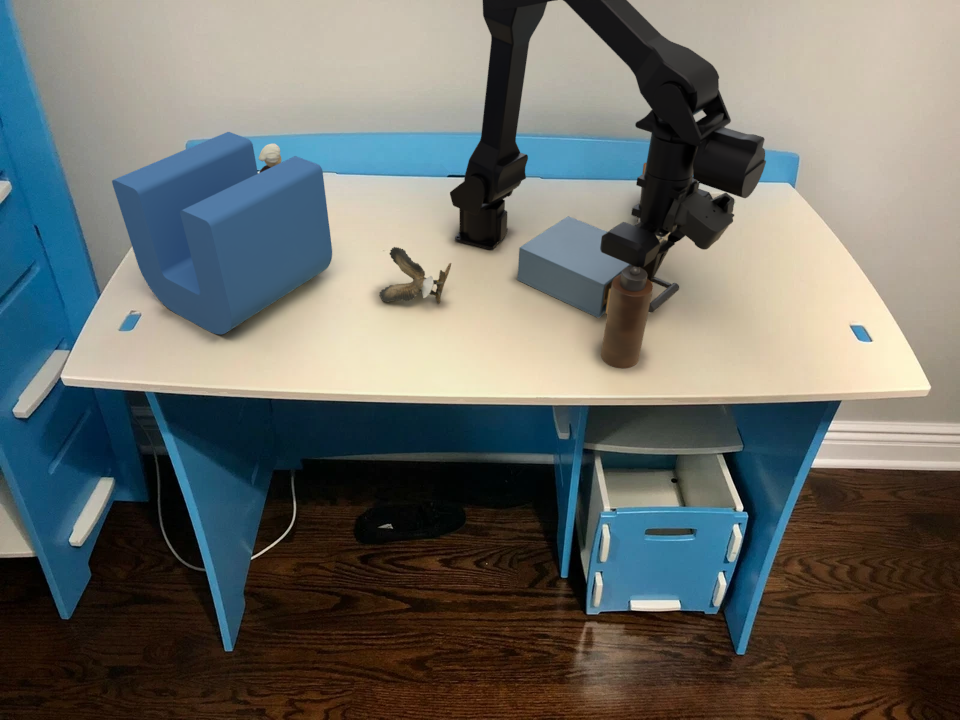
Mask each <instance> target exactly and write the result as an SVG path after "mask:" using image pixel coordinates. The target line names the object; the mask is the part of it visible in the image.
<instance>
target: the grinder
mask: <svg viewBox="0 0 960 720" xmlns="http://www.w3.org/2000/svg"><path fill="white" fill-rule="evenodd" d="M653 291H654V284H653V283H651V281H650V280H649V279H647V272H646V271H645V270H644V269H642V268H639V267H634V266H630V267H626V268H624V269H623V270H622V273H621V275H618V276H616V277H615V278H614V279H613V281H612V287H611V293H610V299H609V306H608V312H607V314H606V320H605V325H604V332H603V337H602V345H601V352H600V357H601V359H602V361H603V362H604V363H605V364H607V365H609V366H611V367H612V368H617V369H629V368H632V367H634V366H636V365H637V364H638V362H639V361H640V354H641V351H642V346H643V340H644V336H645V330H646V326H647V321H648V317H649V316H648V315H649V312H648V311H649V306H650V303H651V302H652V295H653Z"/></svg>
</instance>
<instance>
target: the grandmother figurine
mask: <svg viewBox="0 0 960 720" xmlns="http://www.w3.org/2000/svg"><path fill="white" fill-rule="evenodd" d="M258 160H259V161H260V162H264V163H265V165H264V166H262V168H261V169H260V170H259V172H258V173H261V172H263V171H265V170H267V169H269V168H271V167H273V166H275V165H277V164H279V163H281V162H282V156H281V148H280V146H279V145H277V144H276V143H268V144H266V145H265V146H264V147H262V149H261V151H260V153H259V155H258Z"/></svg>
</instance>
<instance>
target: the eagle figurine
mask: <svg viewBox="0 0 960 720" xmlns="http://www.w3.org/2000/svg"><path fill="white" fill-rule="evenodd" d="M389 251H390V252H389V253H388V254H389V256H390V258H391V259H392V262H393V263H394V264H396V265H397V266H398V268H399V269H400V271H401V272H402V273H403V274H405V275H406V276H408V277H409V278H411V279H412V281H411V282H407V283H396V284H390V285H388V286H386V287H384V288H383V289H381V291H379V297H380V299H381V300H382V301H383V302H386V303H387V302H389V303H390V302H395V301H403V302H408V301H413V300H414V299H415V298H416V296H417V295H418V294H420V293H421V294H422V298H423V299H426V298H428V296H434V298H435V300H436V302H437V303H438V304H441V302H442V301H441V296H442V293H443V290H444V287H445V284H446V281H447V279H448V276H449V273H450V271H451V267H452V262H449V263H448V265H447V266H446V268H445V270H444V271H443V270H442V269H440V270H439V275H438V279H434V278H433V276H432V275H429V276H428V277H425V276H426V271H425V270H424V269H423V267H422V265H420V264H419V263H418V262H415V261H413V260H412V258H411V257H410V256H409V254H408V253H407V252H406V250H405V249H403V248H401V247H397V246H393V247H391V249H390V250H389ZM435 285H436V289H435V291H434V290H433V288H434V286H435Z"/></svg>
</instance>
